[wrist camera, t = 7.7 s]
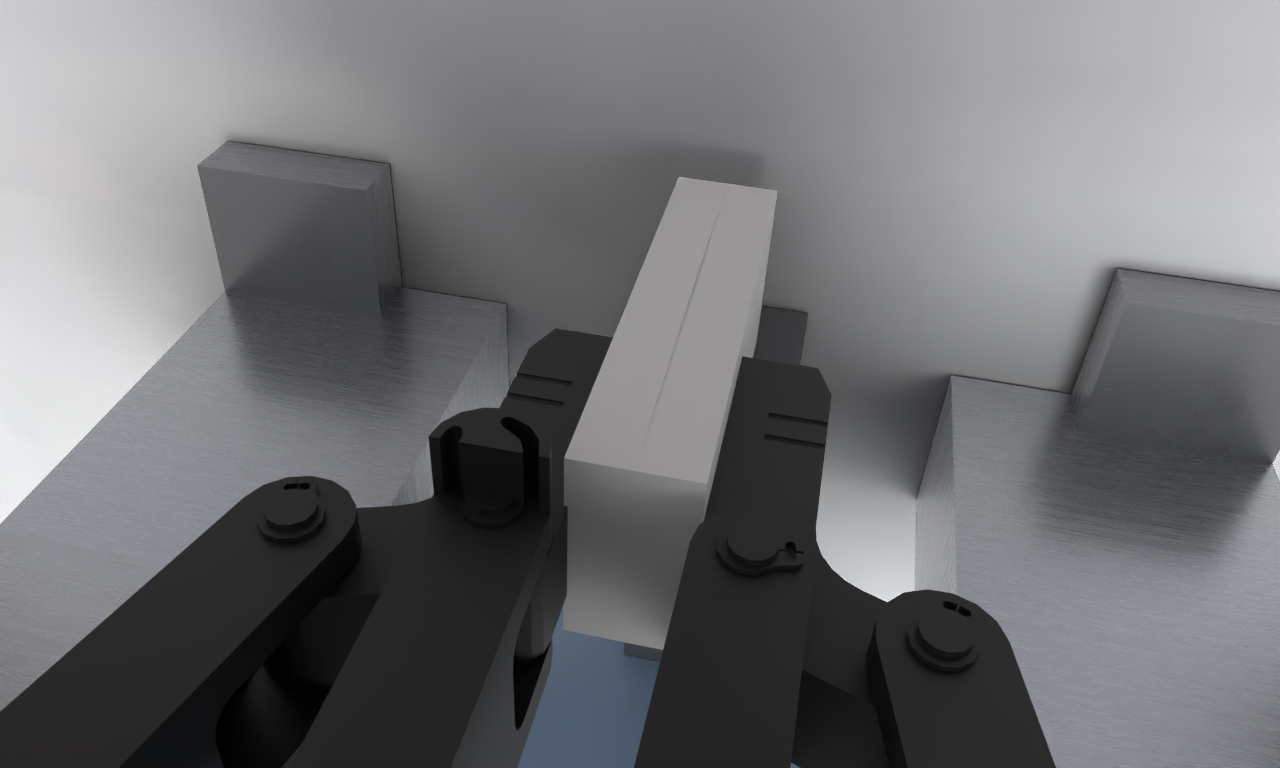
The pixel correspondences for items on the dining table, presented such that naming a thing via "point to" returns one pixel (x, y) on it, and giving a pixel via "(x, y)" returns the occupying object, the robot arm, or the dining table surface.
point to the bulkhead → (945, 507)
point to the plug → (619, 650)
